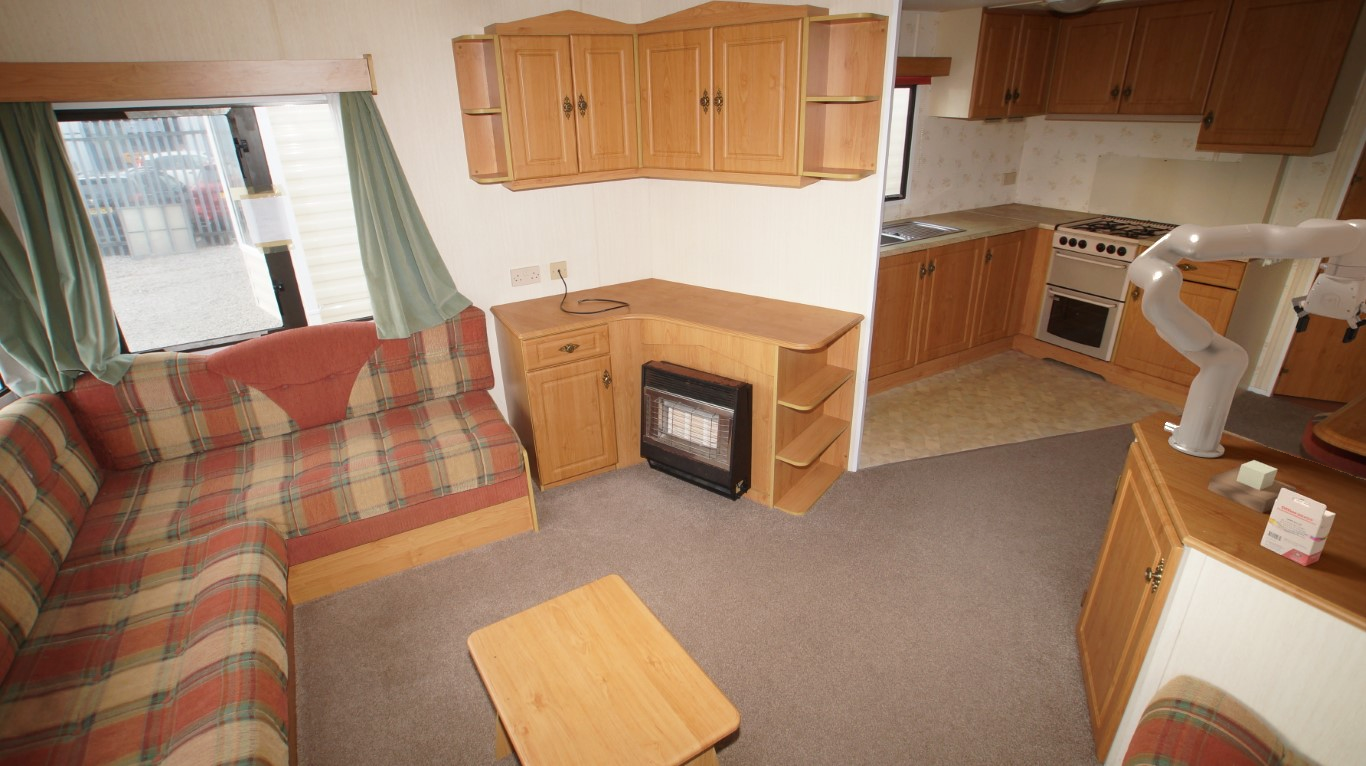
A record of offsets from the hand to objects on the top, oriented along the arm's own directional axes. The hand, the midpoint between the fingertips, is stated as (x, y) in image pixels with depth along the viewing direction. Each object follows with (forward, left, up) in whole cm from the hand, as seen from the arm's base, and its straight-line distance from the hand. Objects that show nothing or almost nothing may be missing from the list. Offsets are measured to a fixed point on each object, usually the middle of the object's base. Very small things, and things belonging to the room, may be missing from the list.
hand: (1323, 337), depth 169 cm
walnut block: (+9, -32, -34) cm, 47 cm away
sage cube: (+9, -32, -30) cm, 45 cm away
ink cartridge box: (+26, -50, -34) cm, 65 cm away
